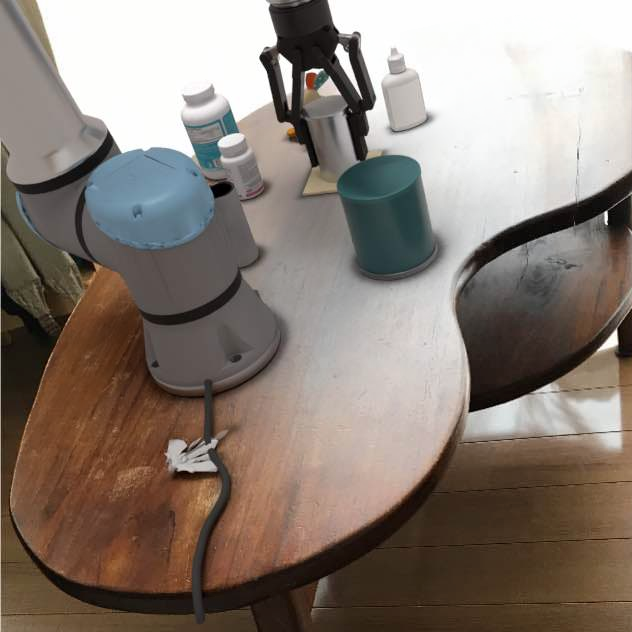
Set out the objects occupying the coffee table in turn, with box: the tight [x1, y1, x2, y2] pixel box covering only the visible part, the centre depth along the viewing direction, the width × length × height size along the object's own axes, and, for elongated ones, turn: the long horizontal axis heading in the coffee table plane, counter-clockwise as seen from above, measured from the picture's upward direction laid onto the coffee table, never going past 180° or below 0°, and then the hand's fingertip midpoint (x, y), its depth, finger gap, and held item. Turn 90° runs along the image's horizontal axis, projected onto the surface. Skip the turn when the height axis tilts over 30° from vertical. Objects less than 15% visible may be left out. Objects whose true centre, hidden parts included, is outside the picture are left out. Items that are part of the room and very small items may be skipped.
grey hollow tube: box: [208, 180, 260, 269], centre depth 111 cm, size 4×4×10 cm
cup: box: [302, 94, 360, 183], centre depth 122 cm, size 7×7×10 cm
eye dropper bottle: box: [380, 45, 428, 132], centre depth 129 cm, size 4×6×12 cm
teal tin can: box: [337, 154, 439, 281], centre depth 103 cm, size 10×10×11 cm
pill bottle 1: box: [180, 79, 240, 180], centre depth 131 cm, size 8×7×14 cm
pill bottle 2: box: [218, 132, 265, 201], centre depth 125 cm, size 5×5×8 cm
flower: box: [164, 429, 230, 476], centre depth 87 cm, size 8×8×3 cm
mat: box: [302, 149, 383, 197], centre depth 125 cm, size 10×10×1 cm
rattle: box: [285, 69, 330, 138], centre depth 133 cm, size 8×8×12 cm
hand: (340, 159), depth 124 cm, fingers closed on cup, 6 cm apart
